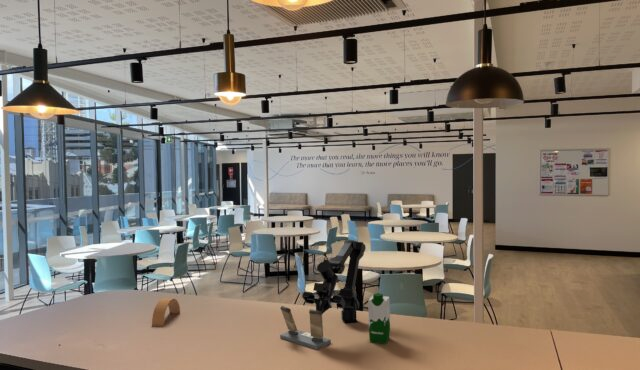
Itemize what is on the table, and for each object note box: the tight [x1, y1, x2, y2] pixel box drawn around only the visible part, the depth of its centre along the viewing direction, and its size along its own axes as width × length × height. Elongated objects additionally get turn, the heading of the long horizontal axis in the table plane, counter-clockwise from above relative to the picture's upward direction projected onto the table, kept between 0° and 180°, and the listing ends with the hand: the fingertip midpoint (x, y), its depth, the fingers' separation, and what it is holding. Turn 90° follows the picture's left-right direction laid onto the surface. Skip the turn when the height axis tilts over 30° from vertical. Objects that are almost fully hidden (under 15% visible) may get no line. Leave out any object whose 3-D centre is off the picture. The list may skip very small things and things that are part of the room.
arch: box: [151, 298, 181, 327], centre depth 223 cm, size 6×20×10 cm, turn 174°
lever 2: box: [308, 309, 324, 338], centre depth 186 cm, size 2×5×11 cm, turn 62°
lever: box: [280, 305, 298, 332], centre depth 194 cm, size 2×5×11 cm, turn 38°
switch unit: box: [279, 329, 332, 351], centre depth 191 cm, size 9×21×2 cm, turn 50°
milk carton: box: [367, 293, 391, 345], centre depth 190 cm, size 9×9×20 cm
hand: (317, 317), depth 186 cm, fingers closed, pressing on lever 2
